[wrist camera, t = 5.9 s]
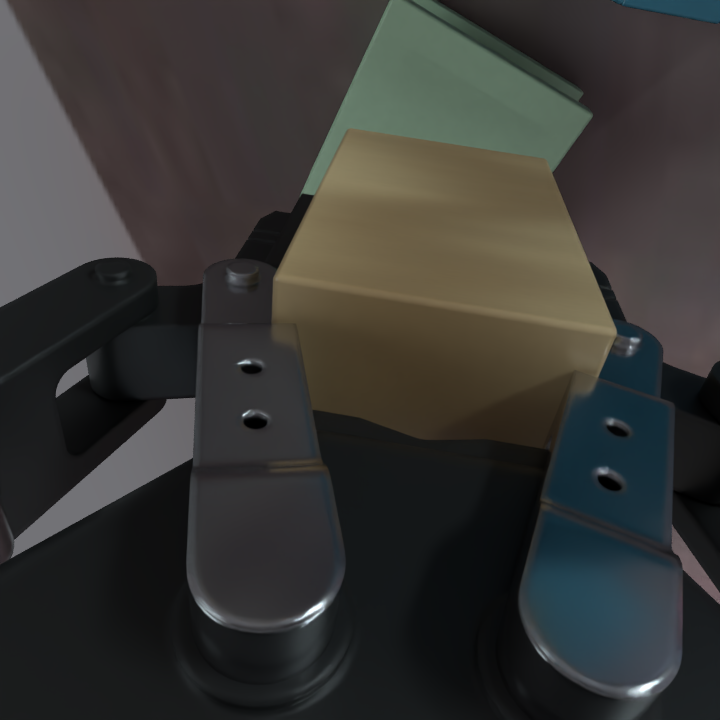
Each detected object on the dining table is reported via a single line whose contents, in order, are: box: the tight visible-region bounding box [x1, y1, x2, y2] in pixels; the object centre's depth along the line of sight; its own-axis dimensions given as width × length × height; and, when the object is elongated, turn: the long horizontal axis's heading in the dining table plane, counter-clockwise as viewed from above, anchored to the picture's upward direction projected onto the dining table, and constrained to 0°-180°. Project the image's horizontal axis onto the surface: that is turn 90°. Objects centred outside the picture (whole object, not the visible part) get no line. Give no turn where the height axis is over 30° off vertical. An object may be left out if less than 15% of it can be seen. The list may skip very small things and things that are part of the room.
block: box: [271, 128, 617, 449], centre depth 12 cm, size 4×4×7 cm
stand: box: [300, 0, 593, 196], centre depth 21 cm, size 7×7×4 cm
